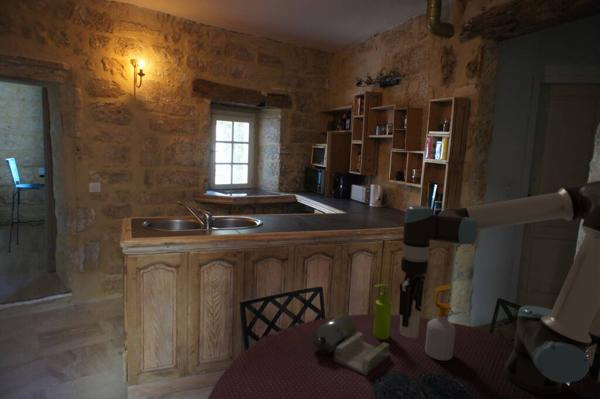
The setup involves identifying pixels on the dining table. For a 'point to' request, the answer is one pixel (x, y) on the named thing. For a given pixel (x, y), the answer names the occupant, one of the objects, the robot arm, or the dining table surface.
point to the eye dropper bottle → (413, 321)
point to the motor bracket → (348, 345)
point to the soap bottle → (440, 331)
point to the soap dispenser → (382, 314)
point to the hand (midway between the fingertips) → (408, 333)
